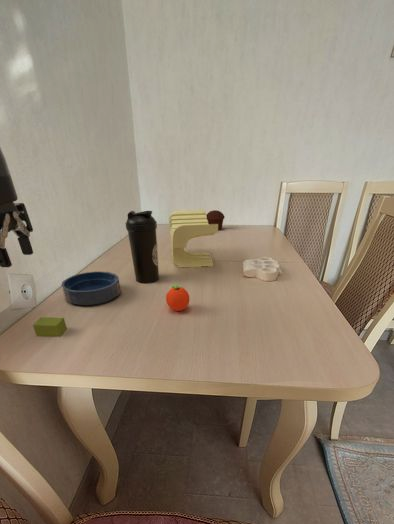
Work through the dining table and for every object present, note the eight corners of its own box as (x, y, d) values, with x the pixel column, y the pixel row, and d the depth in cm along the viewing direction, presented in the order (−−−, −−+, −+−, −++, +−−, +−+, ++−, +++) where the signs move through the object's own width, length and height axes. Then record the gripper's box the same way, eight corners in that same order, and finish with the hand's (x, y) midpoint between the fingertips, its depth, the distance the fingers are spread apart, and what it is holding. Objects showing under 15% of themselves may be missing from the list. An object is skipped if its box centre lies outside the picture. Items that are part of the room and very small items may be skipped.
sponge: (39, 342, 74) (32, 325, 71) (46, 334, 77) (40, 317, 74) (62, 342, 74) (56, 325, 71) (68, 334, 77) (63, 317, 74)
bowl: (56, 306, 91) (51, 291, 88) (78, 284, 105) (74, 271, 103) (112, 307, 90) (109, 292, 87) (126, 285, 104) (124, 271, 102)
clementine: (162, 305, 90) (160, 283, 86) (183, 301, 93) (182, 279, 89) (171, 316, 84) (169, 293, 80) (193, 312, 87) (193, 289, 83)
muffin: (210, 232, 169) (211, 213, 163) (201, 228, 177) (201, 210, 172) (228, 229, 174) (228, 211, 168) (218, 226, 182) (218, 208, 176)
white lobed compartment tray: (242, 264, 121) (278, 265, 120) (243, 280, 107) (284, 281, 105) (242, 256, 120) (279, 257, 118) (244, 271, 105) (286, 272, 103)
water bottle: (159, 284, 105) (153, 214, 92) (131, 284, 105) (120, 214, 92) (162, 274, 113) (157, 208, 100) (136, 274, 113) (127, 209, 101)
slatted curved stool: (171, 253, 136) (168, 211, 126) (205, 251, 138) (205, 209, 128) (175, 275, 112) (172, 225, 102) (216, 273, 113) (218, 224, 103)
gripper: (-8, 171, 61) (19, 250, 70) (-62, 177, 49) (-21, 271, 59) (27, 171, 61) (50, 251, 70) (-19, 176, 49) (16, 271, 58)
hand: (18, 260), depth 64 cm, fingers open, 8 cm apart
